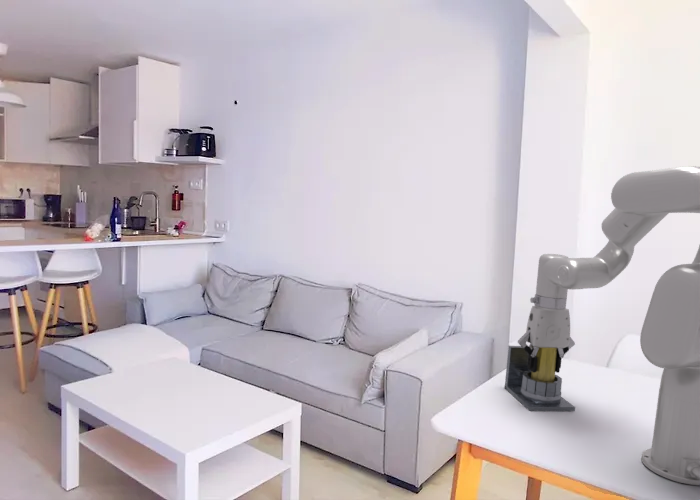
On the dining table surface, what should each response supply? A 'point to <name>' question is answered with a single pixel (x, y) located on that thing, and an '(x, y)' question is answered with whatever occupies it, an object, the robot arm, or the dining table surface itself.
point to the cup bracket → (532, 385)
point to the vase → (545, 365)
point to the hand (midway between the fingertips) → (543, 370)
